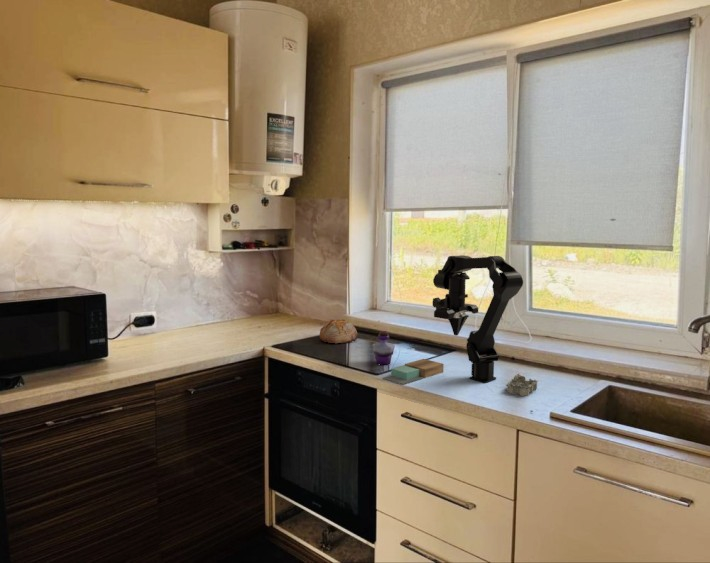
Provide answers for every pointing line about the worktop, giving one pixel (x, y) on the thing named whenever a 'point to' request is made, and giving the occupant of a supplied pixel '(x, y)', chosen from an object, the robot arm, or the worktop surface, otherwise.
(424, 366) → the block
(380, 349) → the potion bottle
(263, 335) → the worktop surface
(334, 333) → the bread
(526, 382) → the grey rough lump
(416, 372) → the tile
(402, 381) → the mat
